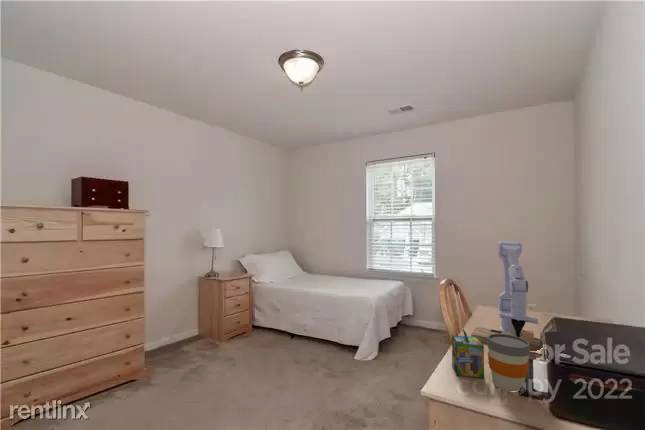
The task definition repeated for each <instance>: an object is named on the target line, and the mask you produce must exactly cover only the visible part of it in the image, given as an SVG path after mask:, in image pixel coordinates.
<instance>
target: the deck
mask: <svg viewBox="0 0 645 430" xmlns="http://www.w3.org/2000/svg"><path fill="white" fill-rule="evenodd" d="M491 334H507V335H513V336H516V334H514V333H509V332H504V331H500V330H497V329H493V328H492V329H491V328H488V327H482V326H476V327H474V329H473V331H472V332H471V334H470V337H477V338H478V339H479V340H480V342H481V343H485V344H487V341H488V336H489V335H491ZM520 338H522V334H520ZM543 339H544V332H542V331H540V337H534V343H529V342H528V343H529V345H530V351H537V350H540V349H541V348H542V345H544V340H543Z"/></svg>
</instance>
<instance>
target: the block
mask: <svg viewBox="0 0 645 430" xmlns="http://www.w3.org/2000/svg"><path fill="white" fill-rule="evenodd" d="M521 333H522V334H521V335H522V339H524V340H526V341H527V342H529V343H534V338H535V334H534V333H535V332H534V331H533V330H528V329H523V328H522V331H521Z"/></svg>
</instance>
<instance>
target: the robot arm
mask: <svg viewBox="0 0 645 430" xmlns="http://www.w3.org/2000/svg"><path fill="white" fill-rule="evenodd" d="M522 245H523V244H522V243H521V242H520V241H501V240H500V241H498V243H497V256H498V258H499V259H501V260H502V267H503V290H504V291H503V292H502V293H499V295H498V296H497V298H498V300H497V309H498V311H500V312H499V318H500V319H501V321H500V322H501V323H500V327H499V331H503V332H508V333H513V334H516V337H519V338H520V335H521V333H522V329H523V328H524V327H525V325H526V323H530V324H535V325H539V318H536V317H532V316H527V293H528V292H529V282H528V280H527V278H526V277H525V273H524V269H523V267H522V266H520V262H519V258H520V256H521V254H522V252H523V246H522Z"/></svg>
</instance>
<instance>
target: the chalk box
mask: <svg viewBox="0 0 645 430" xmlns="http://www.w3.org/2000/svg"><path fill="white" fill-rule="evenodd" d="M462 332H463V334H462V335H458V334H457V335H455V334H452V335H451V347H452V349H451V355H452V356H451V365H452V368H453V370H454V372H455V375H456V376H457V377H468V378H480V379H485V345H484V344H483V342H480V340H479V339H478V338H477V337H471V335H470V336H469V335H468V334H467V332H466V330H465V329H464V328H462Z"/></svg>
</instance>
